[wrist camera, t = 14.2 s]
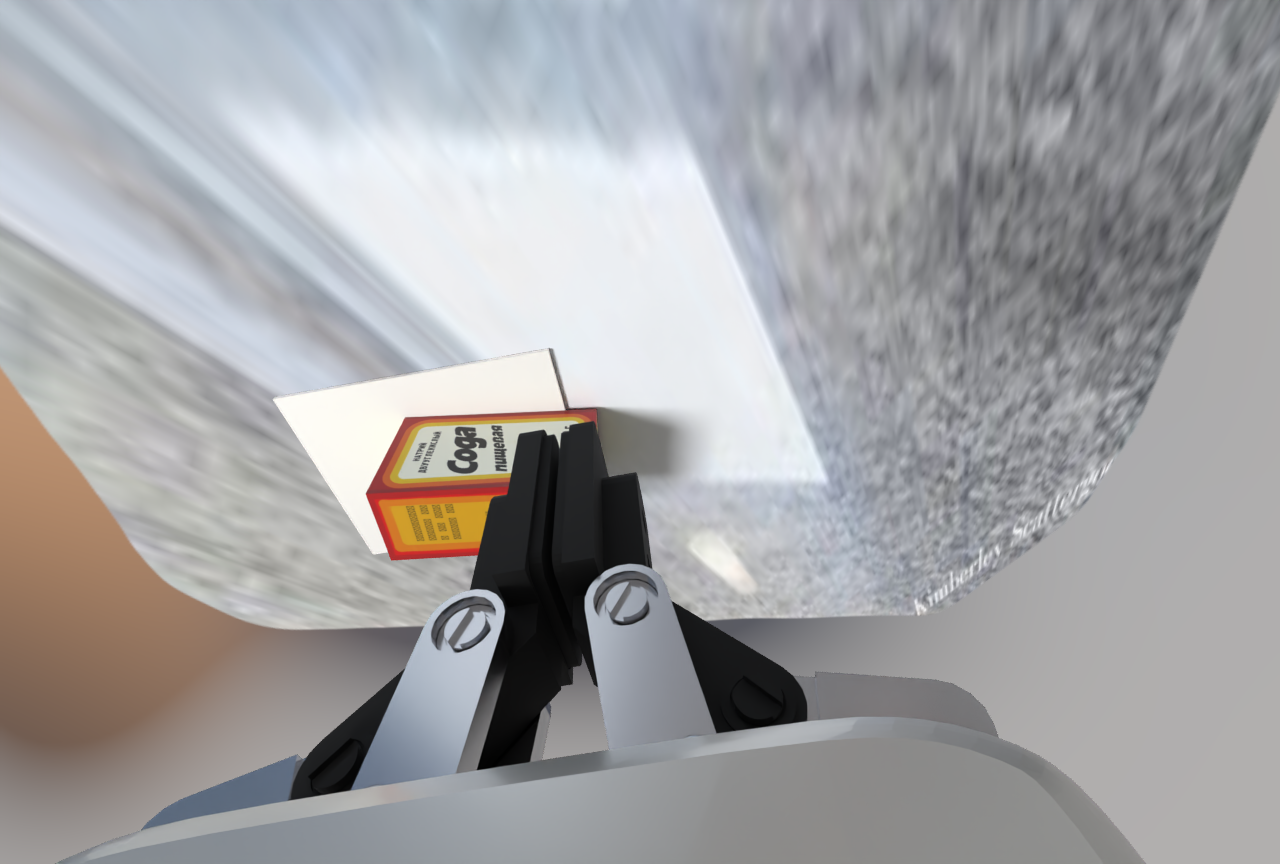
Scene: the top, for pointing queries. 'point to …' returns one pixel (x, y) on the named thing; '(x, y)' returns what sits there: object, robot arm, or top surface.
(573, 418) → the baking soda box
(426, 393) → the mat
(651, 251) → the top surface
